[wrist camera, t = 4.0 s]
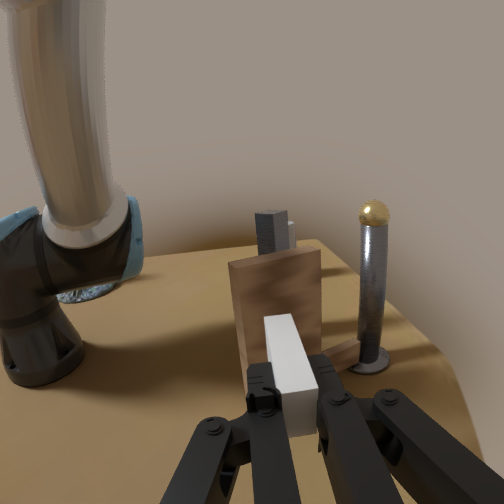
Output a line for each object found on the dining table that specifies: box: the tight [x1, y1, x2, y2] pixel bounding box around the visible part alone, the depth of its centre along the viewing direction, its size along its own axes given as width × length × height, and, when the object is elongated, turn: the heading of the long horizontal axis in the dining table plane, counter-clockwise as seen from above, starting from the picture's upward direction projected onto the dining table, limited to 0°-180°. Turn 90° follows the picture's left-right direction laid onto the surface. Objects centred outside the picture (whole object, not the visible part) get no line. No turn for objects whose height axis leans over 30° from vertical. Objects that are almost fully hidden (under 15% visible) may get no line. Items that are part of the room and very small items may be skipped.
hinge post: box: [347, 200, 390, 375], centre depth 32 cm, size 6×6×20 cm
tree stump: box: [57, 283, 115, 304], centre depth 70 cm, size 18×20×18 cm
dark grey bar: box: [255, 210, 290, 256], centre depth 42 cm, size 6×6×18 cm
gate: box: [228, 245, 361, 395], centre depth 30 cm, size 14×2×16 cm, turn 114°
